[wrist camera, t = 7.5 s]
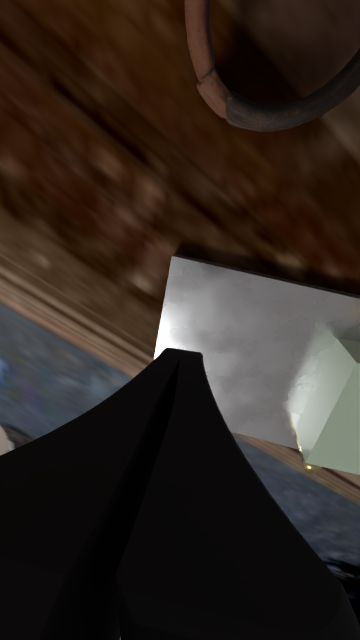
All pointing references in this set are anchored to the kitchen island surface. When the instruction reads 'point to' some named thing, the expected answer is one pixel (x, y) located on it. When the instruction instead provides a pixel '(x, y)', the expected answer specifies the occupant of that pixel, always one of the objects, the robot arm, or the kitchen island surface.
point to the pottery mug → (247, 111)
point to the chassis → (255, 341)
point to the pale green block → (334, 412)
